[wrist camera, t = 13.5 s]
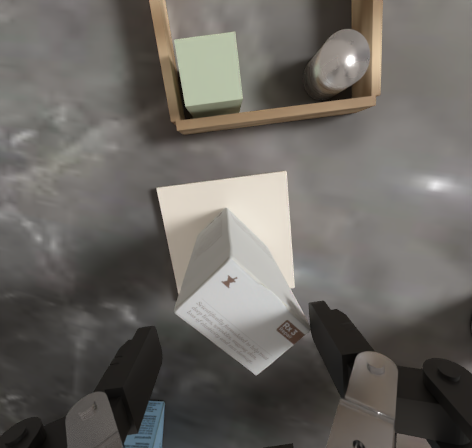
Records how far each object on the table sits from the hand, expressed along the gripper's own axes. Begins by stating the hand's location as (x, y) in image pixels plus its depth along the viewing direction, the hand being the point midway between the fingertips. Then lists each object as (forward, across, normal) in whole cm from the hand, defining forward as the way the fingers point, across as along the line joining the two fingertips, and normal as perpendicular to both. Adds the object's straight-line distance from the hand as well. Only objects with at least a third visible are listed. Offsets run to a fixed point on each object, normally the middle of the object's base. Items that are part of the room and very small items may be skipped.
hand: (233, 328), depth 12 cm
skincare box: (+12, 0, -1) cm, 12 cm away
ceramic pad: (+12, 0, -1) cm, 12 cm away
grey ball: (+12, -10, -14) cm, 22 cm away
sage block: (+12, -1, -14) cm, 19 cm away
